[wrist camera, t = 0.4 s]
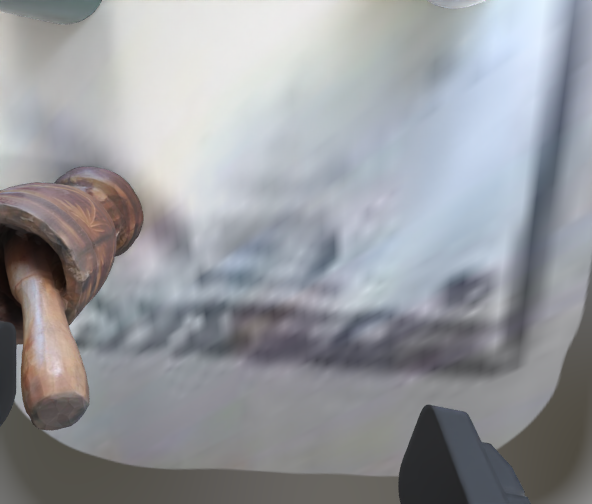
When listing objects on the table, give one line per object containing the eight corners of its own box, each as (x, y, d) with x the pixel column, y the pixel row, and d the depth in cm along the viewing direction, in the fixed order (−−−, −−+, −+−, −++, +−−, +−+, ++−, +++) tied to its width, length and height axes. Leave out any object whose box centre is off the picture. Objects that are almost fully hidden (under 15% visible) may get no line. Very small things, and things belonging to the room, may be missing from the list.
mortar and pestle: (198, 183, 37) (88, 292, 18) (181, 281, 40) (72, 462, 21) (49, 148, 36) (-225, 223, 18) (43, 251, 39) (-197, 410, 20)
